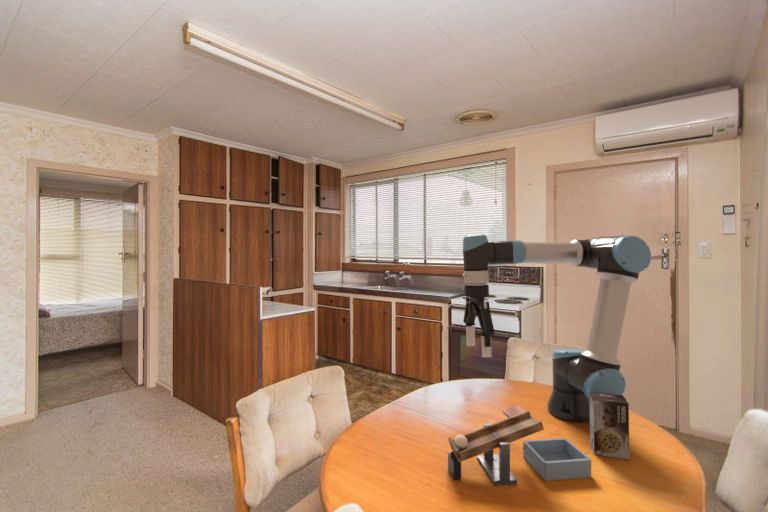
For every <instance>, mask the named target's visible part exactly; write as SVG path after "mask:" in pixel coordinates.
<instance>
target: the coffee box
mask: <svg viewBox="0 0 768 512" xmlns="http://www.w3.org/2000/svg"><path fill="white" fill-rule="evenodd" d="M589 395H590V421H589V446H590V448H591V452H592V453H593V455H595V456H603V457H608V458H616V459H621V460H622V459H623V460H624V459H625V460H630V459H631V458H630V456H631V455H630V418H629V416H630V415H629V414H630V413H629V411H630V410H629V408H630V406H629V405H630V404H629V402H628V401H627V399H626V397H624V396H623V394H622V395H614V394H604V393H592V392H590V393H589Z"/></svg>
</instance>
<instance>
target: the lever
mask: <svg viewBox="0 0 768 512" xmlns="http://www.w3.org/2000/svg"><path fill="white" fill-rule="evenodd" d="M502 413H503V414H504V416H506V417H507V418H506V419H502V420H499V421H497V422H494V423H490V424H491V425H489V426H486V427H484V426H483V427H480V428H479V429H475V430H473V431H471V432H467V433H466V434H463V435H464V436H465V437H466V438H467V441H468V445H467V447H466V448H465V449H458V448H457V447H456V445H455V443H454V439H455V438H452V437H451V436H450V437H448V442H449V446H450V448H451V450H452V451H451V452H454V454H455V456H456V458H457V459H458V461H459V462H461V463H462V462H465V461H467V460H469V459H472V458H474V457H477V456H481V455H483V454H484V453H485V452H487V451H490V450H493V451H494V450H495V449H497V448H499V443H503V442H508V443H509V444H511V443H513V442H517V441H518V440H520V439H521V440H522V439H524V438H526V437H529V436H530V435H531V436H532V435H534V434H537V433H539V432H541V431H543V430H545V429H544V424H543V422H542V420H539V421H538V420H537V419H535V418H534V417H533V416H532V414H531V412H530V411H529V410H525V409H524V408H523V407H521V406H520V405H519V404H515V405H513V406H509V407H508V408H504V409H503V410H502Z"/></svg>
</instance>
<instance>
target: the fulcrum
mask: <svg viewBox="0 0 768 512" xmlns="http://www.w3.org/2000/svg"><path fill="white" fill-rule="evenodd" d="M491 424H492V423H483V428H484V427H486V426H489V425H491ZM498 448H499V449H498V454H497V453H496V454H494V449H493V450H490V451H487V452H485V453H483V454H480V455H477V456H476V460H477V461H478V463H479V464H480V466H481V467H482V469H483V470H484V472H485V473H486V474H487V476H488V478H489V480H490V481H491V482H492V484H493V486H502V485H503V486H504V485H517V484H518V479H517V478H516V476H515V475H514V473H513V472H512V471H511V443H508V442H503V443H499V447H498ZM447 469H448V471H449V474H450V475H451V478H452V480H453V481H456V480H462V462H459V461H458V459H457V458H456V456H455V454H454V452H453V451H447Z"/></svg>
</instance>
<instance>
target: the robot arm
mask: <svg viewBox="0 0 768 512" xmlns="http://www.w3.org/2000/svg"><path fill="white" fill-rule="evenodd" d="M462 253H463V254H462V255H463V274H462V277H463V278H464V279H463V283H465V285H464V297H465V307H464V314H463V320H462V321H463V323H464V324H465V330H466V331H465V332H466V333H465V334H466V335H465V336H466V347H476V330H475V329H476V328H475V326H476V323H475V321H476V318H477V319H478V322H479V326H480V329H481V334H480V338H481V357H482V358H492V357H493V356H492V353H493V352H492V351H493V350H492V336H493V335H495V328H494V324H493V319H492V314H491V310H490V303H489V301H485V298H488V297H489V295H490V285H489V282H490V276H489V275H490V274H489V265H490V266H492V265H515V264H552V265H553V264H562V265H563V264H564V265H566V264H568V265H569V266H572V267H575V268H576V267H581V268H588V269H593V270H594V269H596V274H597V276H598V277H599V278H600V281H599V286H598V291H597V296H596V300H595V306H594V310H593V311H594V312H593V315H592V319H591V320H592V322H591V327H590V330H589V337H588V341H587V346H586V349H579V348H558V349H554V350H553V352H552V359H551V360H552V391H551V393H550V396H549V400H548V402H547V411H548V413H550V414H551V415H552V416H554V417H556V418H559V419H561V420H565V421H569V422H575V423H586V422H590V395H589V393H590V392H592V393H604V394H614V395H623V394H624V393H625V390H626V387H627V386H626V385H627V384H626V378H625V377H624V375H623V374H622V373H621V372H620V371H621V366H622V363H621V361H620V360H619V359H618V357H617V356H618V352H619V345H620V341H621V335H622V331H623V327H624V320H625V317H626V311H627V306H628V305H627V304H628V301H629V298H630V293H631V286H632V284H633V283H635V282H637V281H638V280H639V275H640V273H641V272H643V271H646V269H647V268H648V267H649V266H650V264H651V262H652V252H651V249H650V247H649V245H648V244H647V243H646V241H645V240H643V238H641V237H639V236H635V235H625V234H621V235H614V236H599V237H592V238H587V239H573V240H571V241H570V242H547V241H545V242H541V241H539V242H538V241H536V242H535V241H533V242H529V241H523V240H516V239H515V240H514V239H512V240H511V239H510V240H508V239H507V240H489V239H488V236H487V235H485V234H482V235H481V234H472V235H466V236H465V237H463V240H462Z"/></svg>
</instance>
